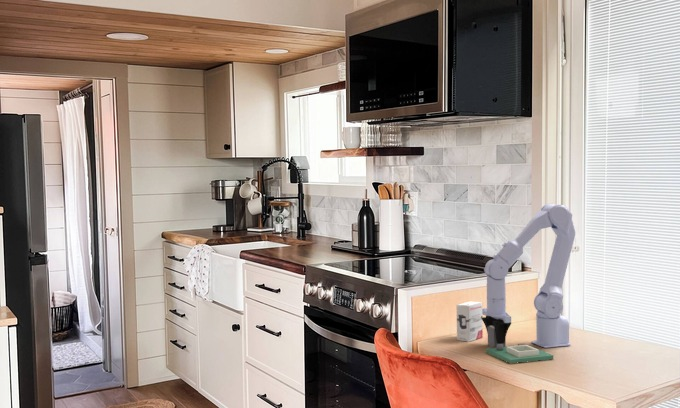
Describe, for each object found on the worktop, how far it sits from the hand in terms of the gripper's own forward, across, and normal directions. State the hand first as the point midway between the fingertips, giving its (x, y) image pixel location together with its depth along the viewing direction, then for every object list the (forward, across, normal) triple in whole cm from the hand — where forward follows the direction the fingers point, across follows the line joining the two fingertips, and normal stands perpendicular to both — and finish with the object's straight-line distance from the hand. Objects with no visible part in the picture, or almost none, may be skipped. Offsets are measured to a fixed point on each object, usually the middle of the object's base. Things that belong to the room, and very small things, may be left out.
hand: (496, 341), depth 215 cm
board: (+1, +13, 0) cm, 13 cm away
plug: (+2, 0, 0) cm, 2 cm away
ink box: (+2, -12, -3) cm, 12 cm away
